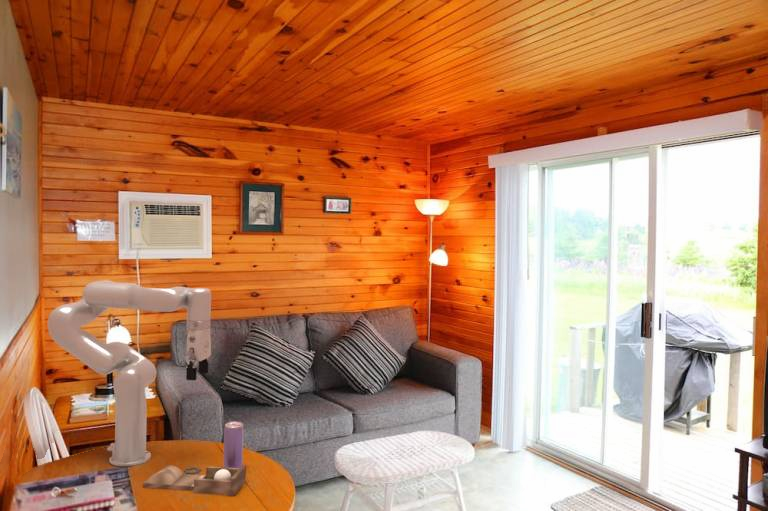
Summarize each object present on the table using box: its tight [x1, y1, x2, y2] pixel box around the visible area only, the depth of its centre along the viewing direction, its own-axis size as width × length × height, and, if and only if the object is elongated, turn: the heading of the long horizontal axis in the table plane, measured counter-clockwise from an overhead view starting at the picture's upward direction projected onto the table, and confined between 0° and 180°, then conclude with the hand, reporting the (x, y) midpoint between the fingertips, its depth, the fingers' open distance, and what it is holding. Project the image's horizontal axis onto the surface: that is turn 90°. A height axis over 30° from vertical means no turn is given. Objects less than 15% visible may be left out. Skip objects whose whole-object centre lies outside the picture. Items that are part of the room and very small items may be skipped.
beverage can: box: [222, 421, 244, 468], centre depth 183 cm, size 6×6×15 cm
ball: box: [214, 469, 231, 480], centre depth 171 cm, size 5×5×5 cm
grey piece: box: [183, 466, 202, 475], centre depth 182 cm, size 5×5×1 cm
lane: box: [142, 465, 247, 497], centre depth 172 cm, size 28×10×9 cm, turn 85°
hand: (197, 376), depth 190 cm, fingers open, 9 cm apart
